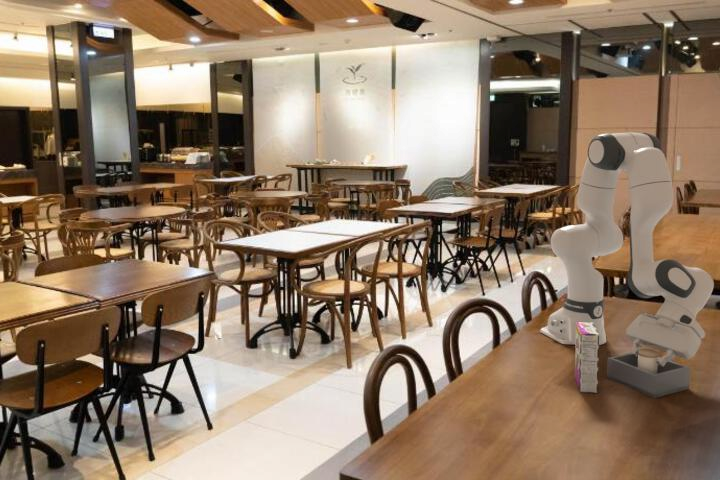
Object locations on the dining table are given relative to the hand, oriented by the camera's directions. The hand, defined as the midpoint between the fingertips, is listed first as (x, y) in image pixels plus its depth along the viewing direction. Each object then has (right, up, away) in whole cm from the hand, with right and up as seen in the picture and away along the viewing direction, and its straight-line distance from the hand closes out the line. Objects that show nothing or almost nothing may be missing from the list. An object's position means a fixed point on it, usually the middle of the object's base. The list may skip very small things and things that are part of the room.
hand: (646, 359), depth 177 cm
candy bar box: (-16, -7, +1) cm, 18 cm away
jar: (+1, -6, +1) cm, 6 cm away
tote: (+1, -7, +1) cm, 7 cm away
